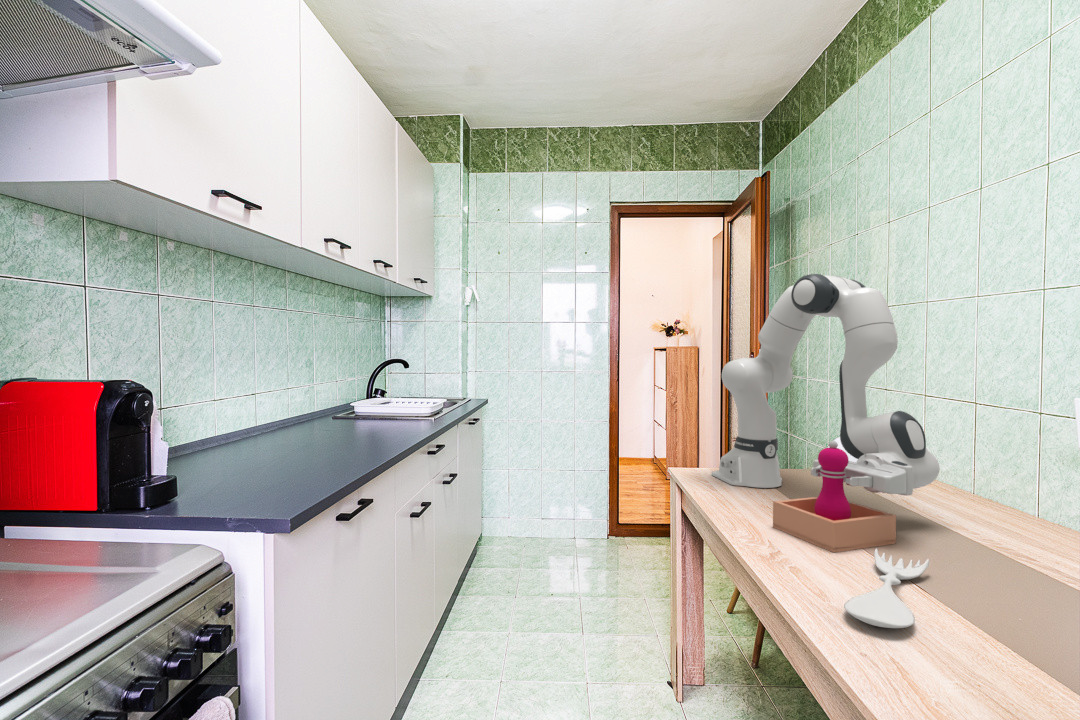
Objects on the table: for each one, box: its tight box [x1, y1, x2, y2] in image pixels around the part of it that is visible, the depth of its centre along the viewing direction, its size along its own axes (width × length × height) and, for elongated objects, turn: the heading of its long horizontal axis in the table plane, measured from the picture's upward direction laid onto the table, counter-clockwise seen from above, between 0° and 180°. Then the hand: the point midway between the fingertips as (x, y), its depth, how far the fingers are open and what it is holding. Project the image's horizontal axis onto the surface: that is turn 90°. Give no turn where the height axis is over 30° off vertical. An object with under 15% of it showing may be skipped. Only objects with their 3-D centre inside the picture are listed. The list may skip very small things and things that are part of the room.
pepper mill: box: [814, 440, 851, 521], centre depth 121 cm, size 7×7×20 cm
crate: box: [772, 496, 897, 553], centre depth 121 cm, size 17×17×6 cm
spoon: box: [843, 547, 930, 629], centre depth 90 cm, size 9×32×4 cm, turn 140°
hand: (830, 476), depth 120 cm, fingers open, 8 cm apart
